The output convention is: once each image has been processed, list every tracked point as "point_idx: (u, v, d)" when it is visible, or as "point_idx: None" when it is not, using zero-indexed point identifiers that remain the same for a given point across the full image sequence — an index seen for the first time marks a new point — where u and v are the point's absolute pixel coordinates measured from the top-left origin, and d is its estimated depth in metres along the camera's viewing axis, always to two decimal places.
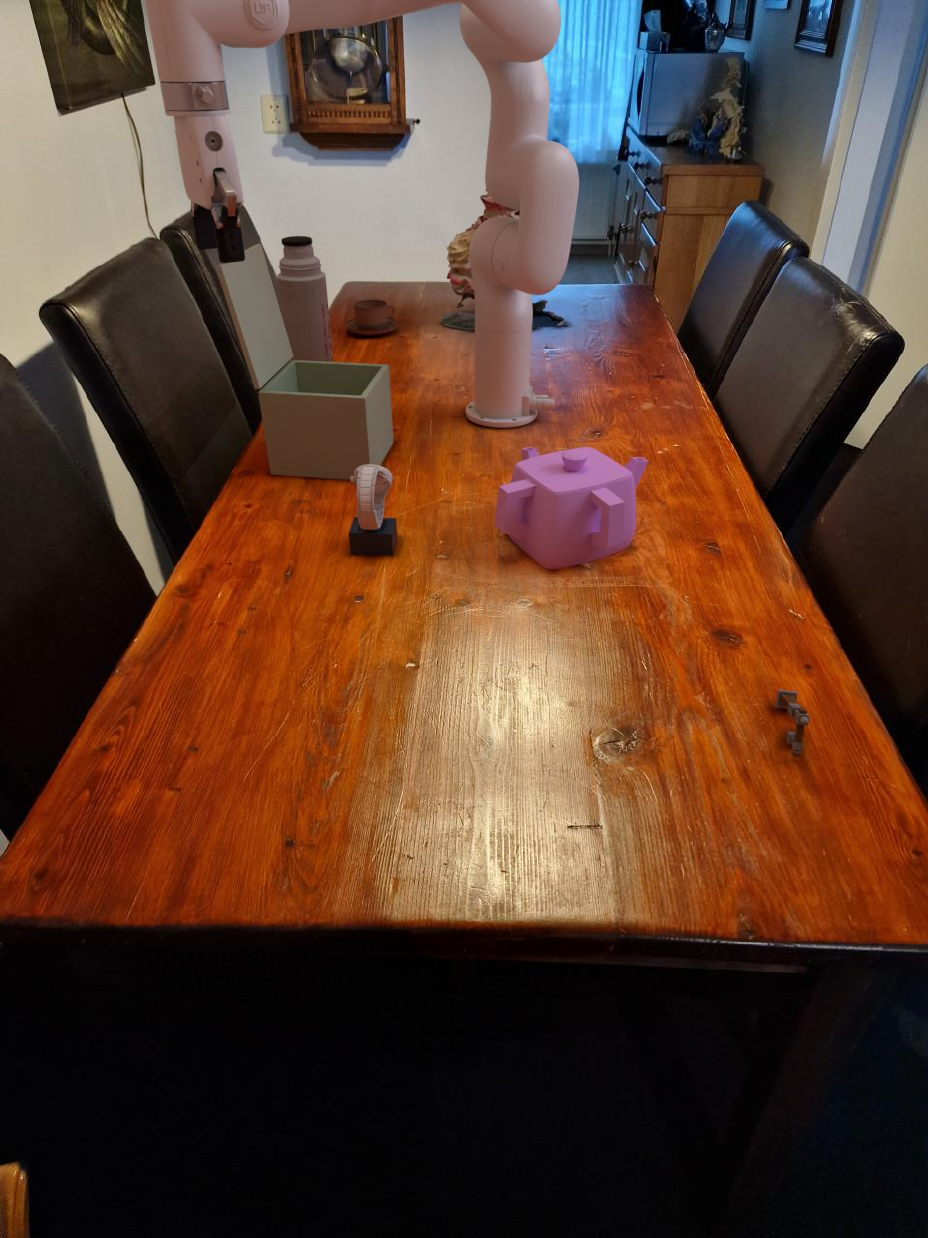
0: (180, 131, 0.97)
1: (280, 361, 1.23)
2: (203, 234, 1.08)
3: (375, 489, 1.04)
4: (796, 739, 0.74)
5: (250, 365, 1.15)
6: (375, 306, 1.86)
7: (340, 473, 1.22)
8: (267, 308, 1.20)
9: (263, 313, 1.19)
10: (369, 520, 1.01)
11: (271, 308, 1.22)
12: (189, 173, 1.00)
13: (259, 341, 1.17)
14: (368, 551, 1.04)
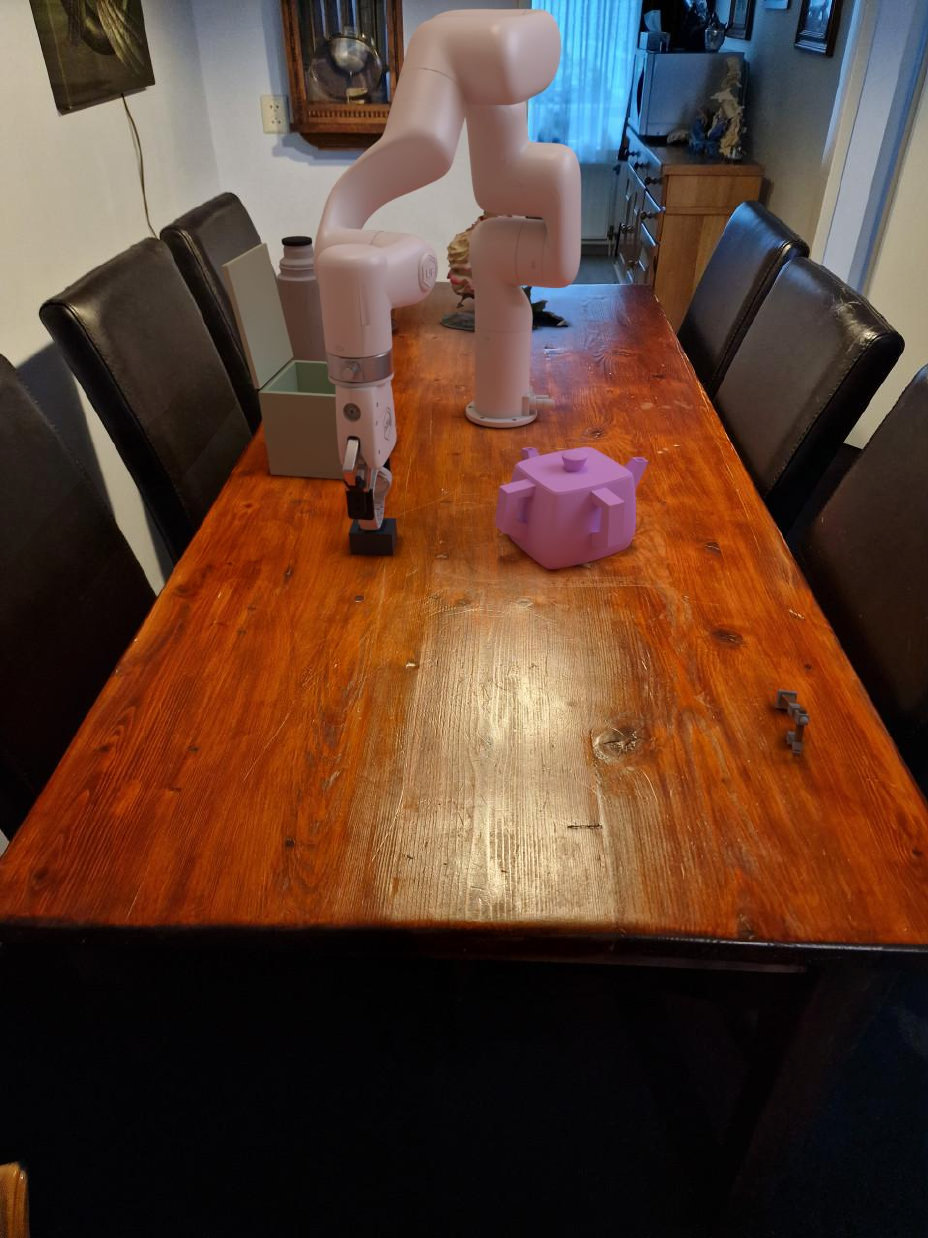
0: None
1: (280, 361, 1.23)
2: None
3: (375, 489, 1.04)
4: (796, 739, 0.74)
5: (251, 365, 1.15)
6: None
7: (340, 473, 1.22)
8: (270, 308, 1.20)
9: (266, 313, 1.19)
10: (369, 520, 1.01)
11: (274, 308, 1.21)
12: None
13: (261, 341, 1.17)
14: (368, 551, 1.04)
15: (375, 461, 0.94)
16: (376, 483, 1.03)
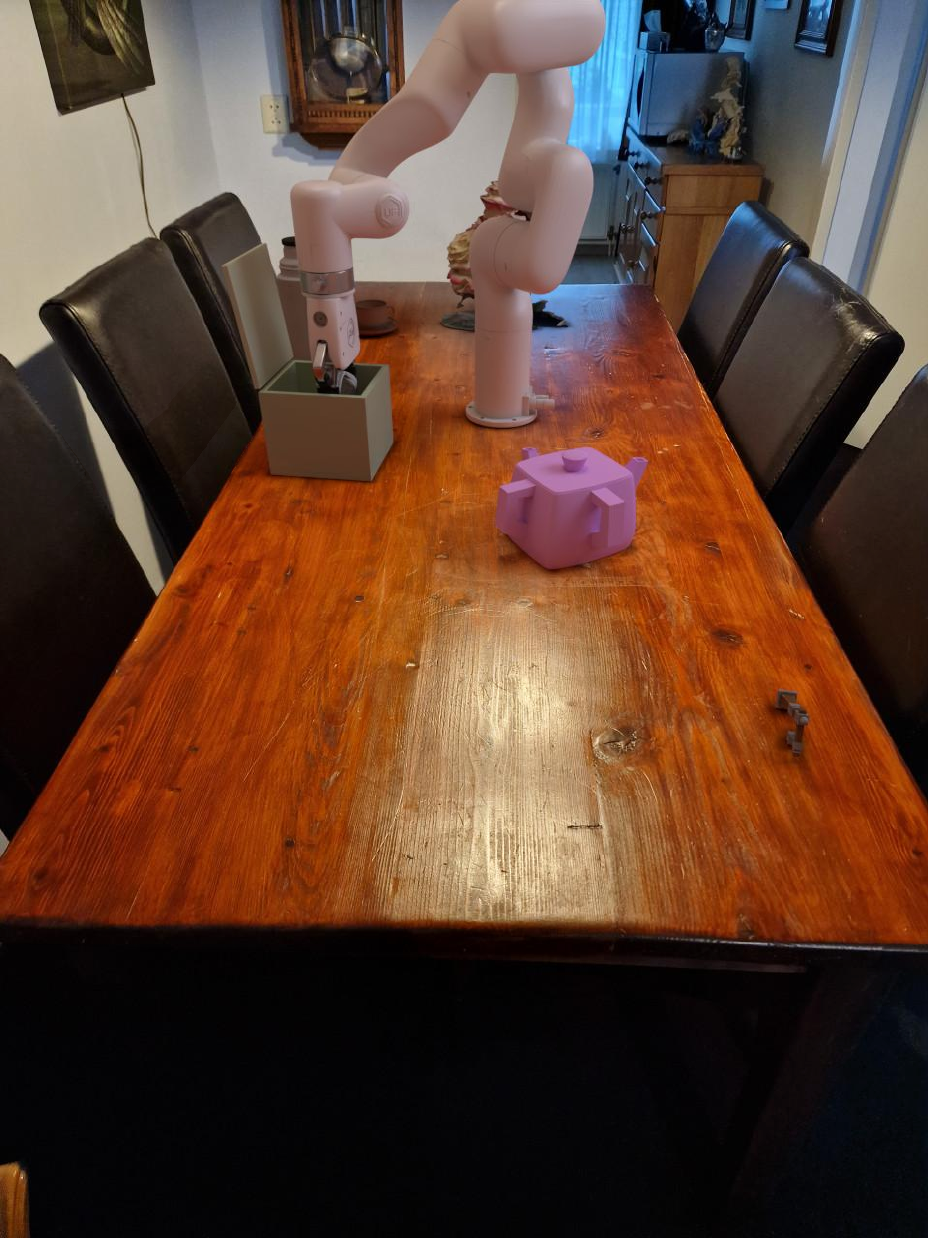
0: None
1: (280, 361, 1.23)
2: None
3: (343, 393, 1.25)
4: (796, 739, 0.74)
5: (251, 365, 1.15)
6: (375, 306, 1.86)
7: (340, 473, 1.22)
8: (270, 308, 1.20)
9: (266, 313, 1.19)
10: None
11: (274, 308, 1.21)
12: None
13: (261, 341, 1.17)
14: None
15: (340, 361, 1.15)
16: (343, 387, 1.24)
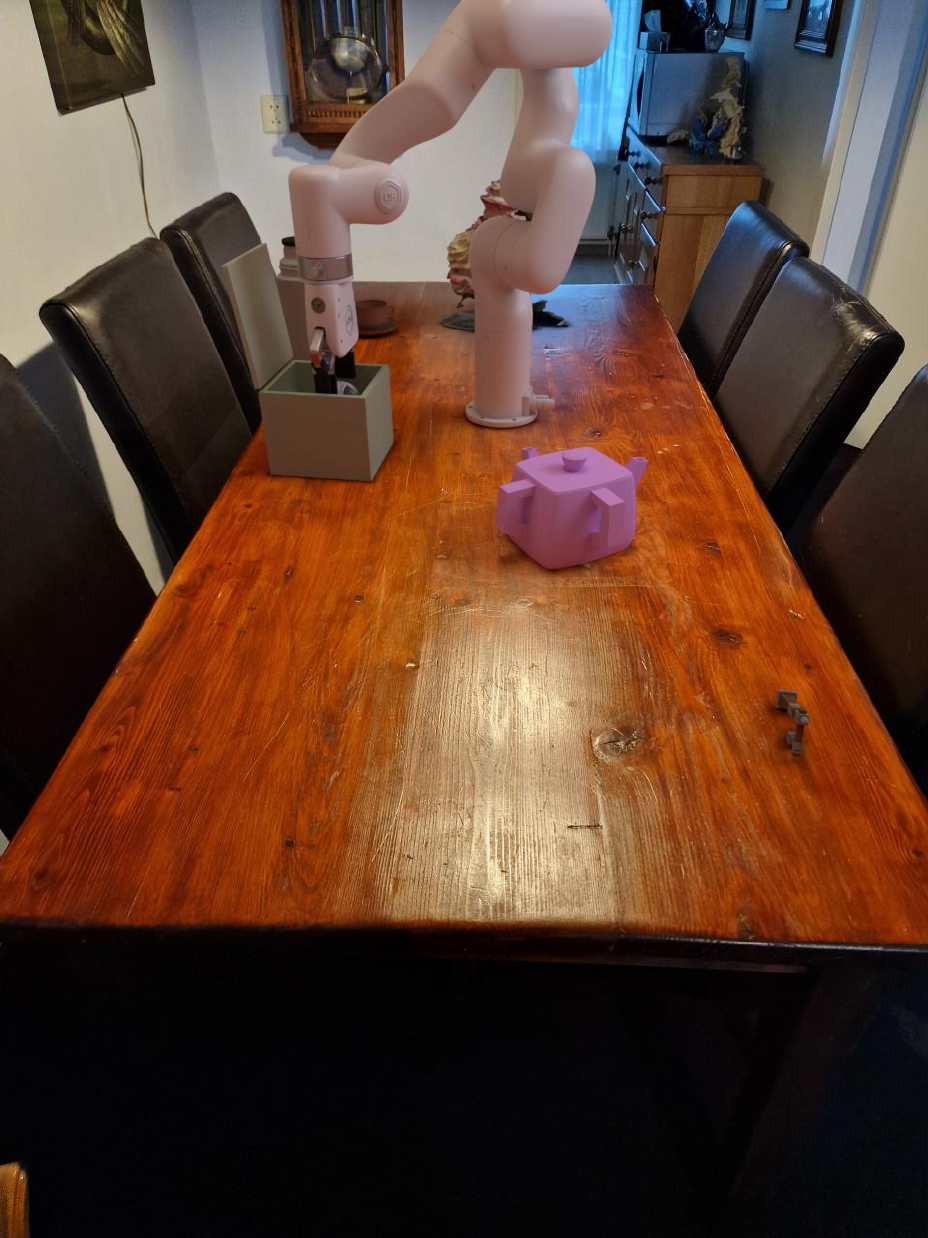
0: None
1: (280, 361, 1.23)
2: (339, 366, 1.25)
3: None
4: (796, 739, 0.74)
5: (251, 365, 1.15)
6: (375, 306, 1.86)
7: (340, 473, 1.22)
8: (270, 308, 1.20)
9: (266, 313, 1.19)
10: None
11: (274, 308, 1.21)
12: None
13: (261, 341, 1.17)
14: None
15: (338, 348, 1.14)
16: None
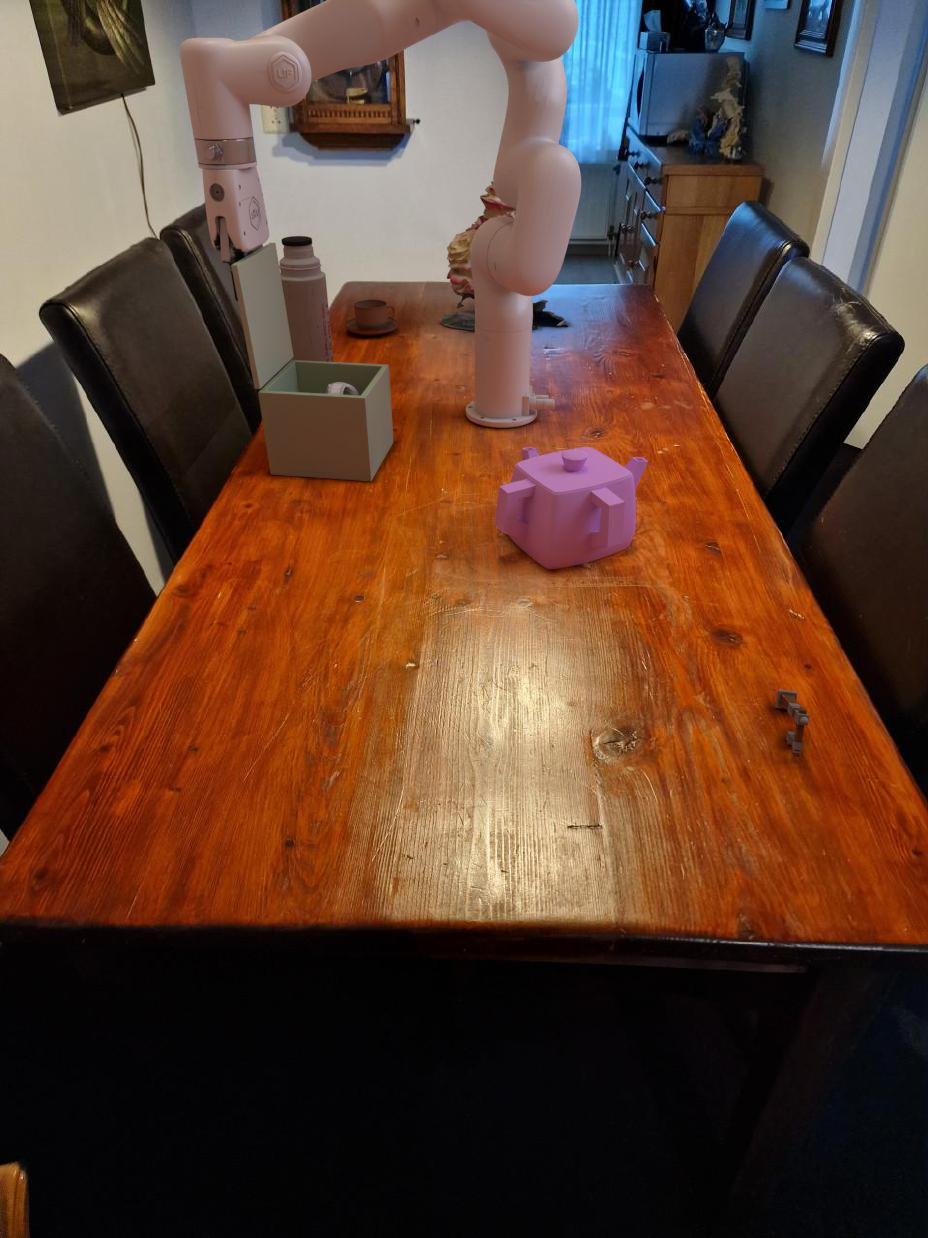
0: None
1: (281, 361, 1.23)
2: None
3: None
4: (796, 739, 0.74)
5: (253, 365, 1.15)
6: (375, 306, 1.86)
7: (340, 473, 1.22)
8: (274, 308, 1.20)
9: (270, 313, 1.19)
10: None
11: (278, 308, 1.21)
12: None
13: (264, 341, 1.17)
14: None
15: (241, 241, 1.08)
16: None
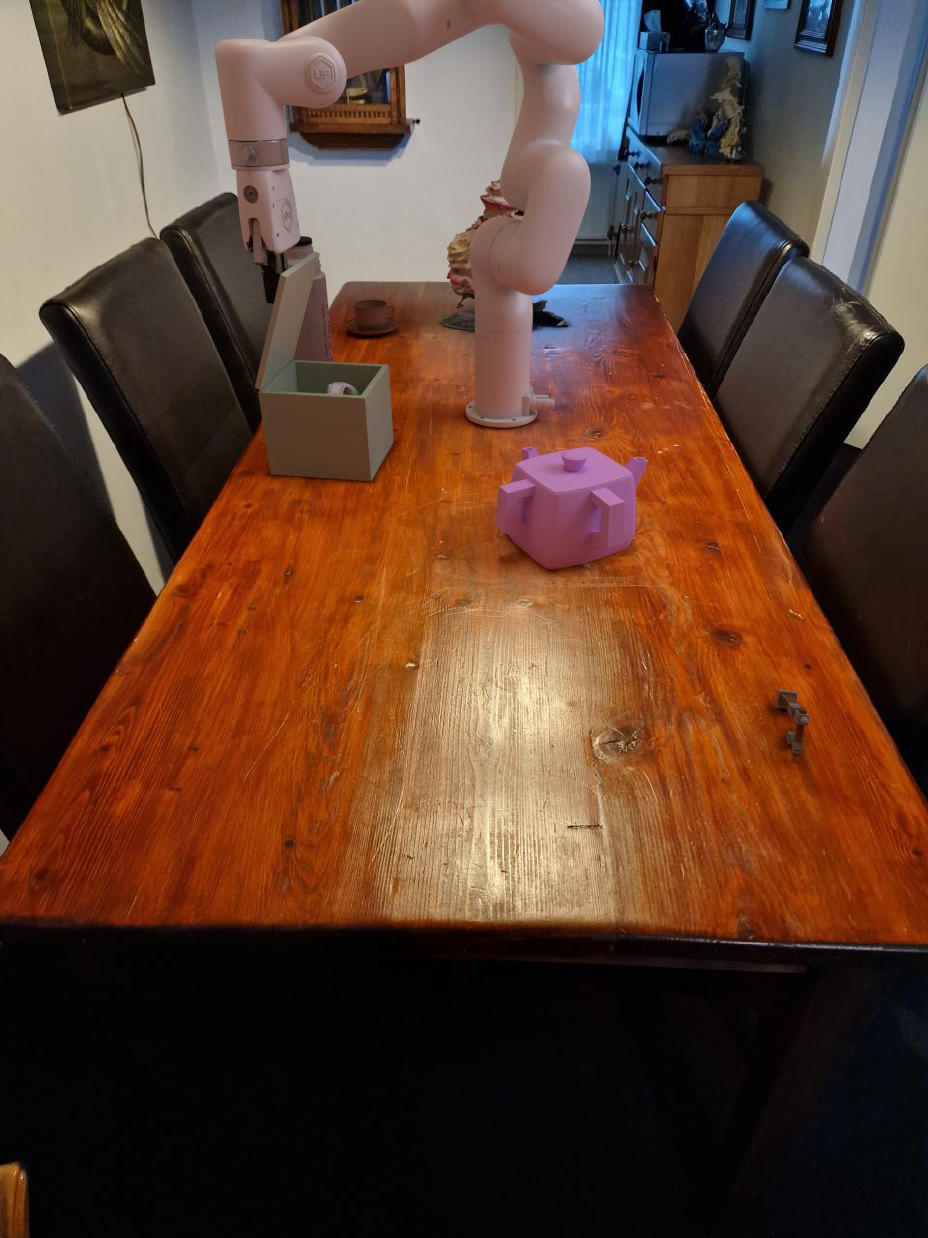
0: None
1: (283, 362, 1.24)
2: None
3: None
4: (796, 739, 0.74)
5: (262, 367, 1.15)
6: (375, 306, 1.86)
7: (340, 473, 1.22)
8: (297, 314, 1.20)
9: (292, 319, 1.19)
10: None
11: (299, 314, 1.21)
12: None
13: (278, 346, 1.17)
14: None
15: (274, 243, 1.07)
16: None
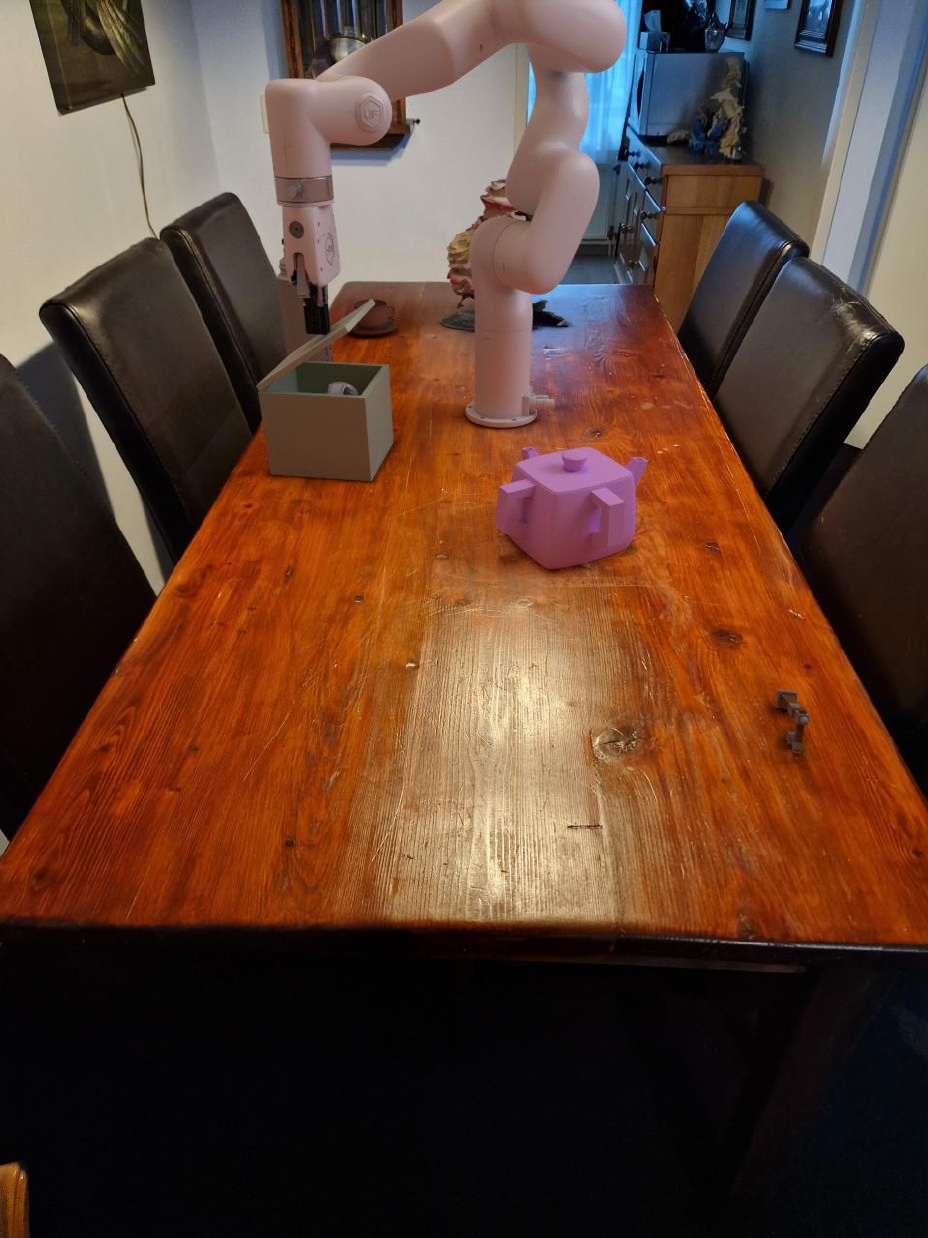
0: None
1: None
2: None
3: None
4: (796, 739, 0.74)
5: (275, 377, 1.15)
6: (375, 306, 1.86)
7: (340, 473, 1.22)
8: None
9: None
10: None
11: None
12: None
13: None
14: None
15: (318, 277, 1.09)
16: None
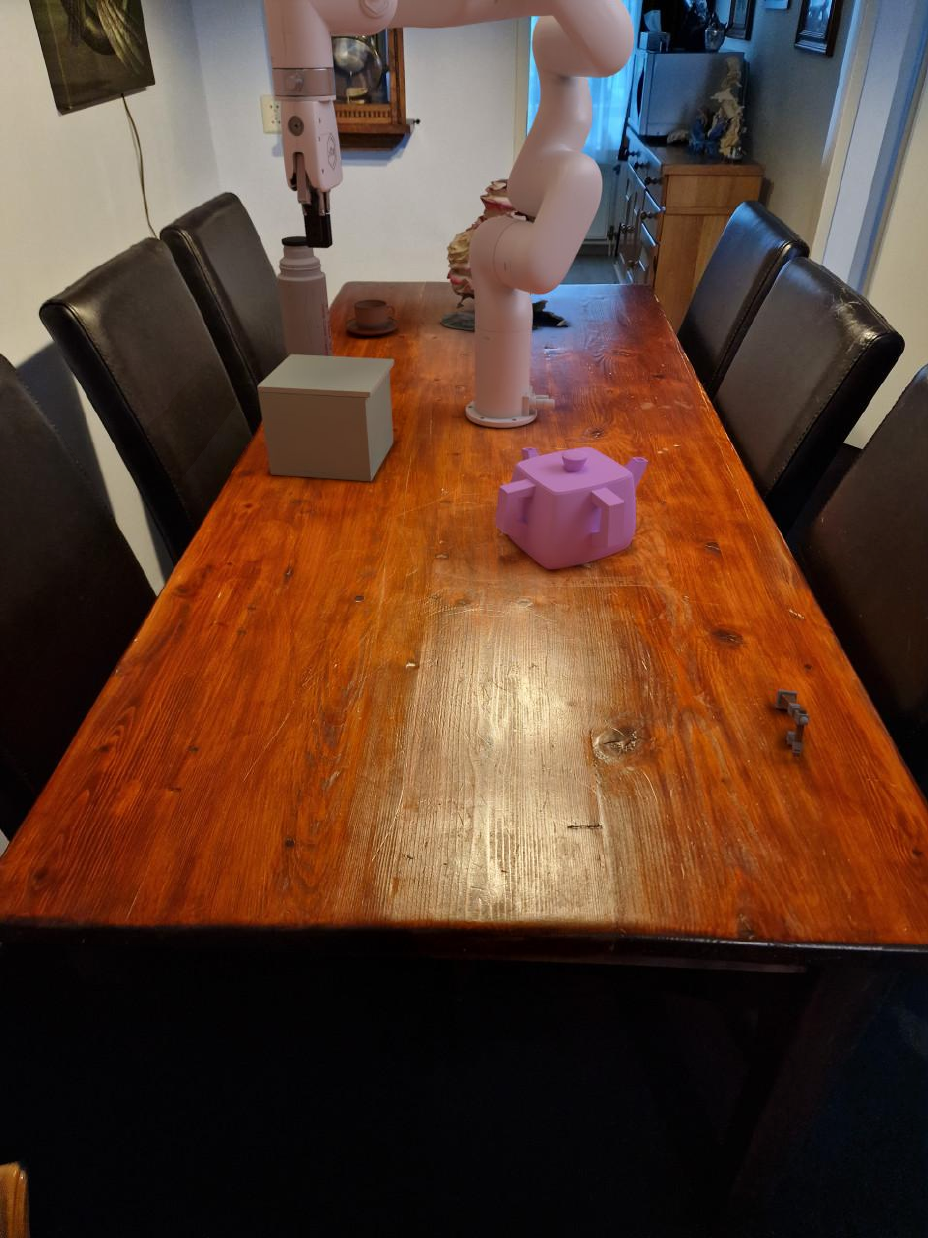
0: None
1: None
2: None
3: None
4: (796, 739, 0.74)
5: (280, 390, 1.16)
6: (375, 306, 1.86)
7: (340, 473, 1.22)
8: None
9: None
10: None
11: None
12: None
13: None
14: None
15: (319, 179, 1.02)
16: None
